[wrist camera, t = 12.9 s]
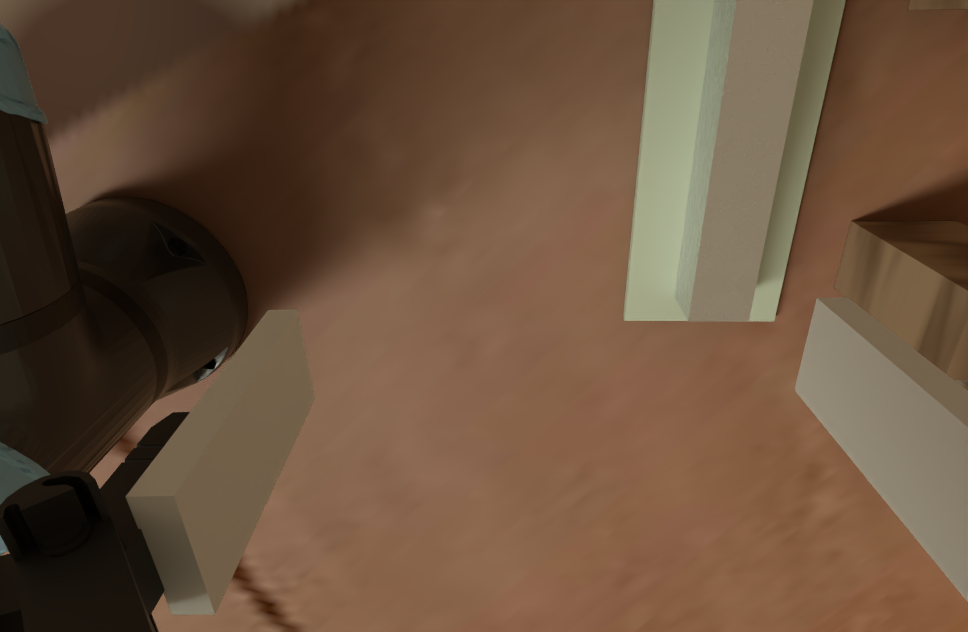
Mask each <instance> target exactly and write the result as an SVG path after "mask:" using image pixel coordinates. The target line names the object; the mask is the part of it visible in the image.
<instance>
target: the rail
mask: <svg viewBox="0 0 968 632" xmlns="http://www.w3.org/2000/svg"><path fill="white" fill-rule="evenodd" d="M813 1H814V0H714V7H713V15H712V22H711V30H710V37H709V44H708V52H707V59H706V66H705V74H704V81H703V88H702V96H701V103H700V110H699V118H698V125H697V132H696V140H695V147H694V155H693V162H692V169H691V177H690V184H689V191H688V199H687V206H686V213H685V221H684V228H683V235H682V243H681V250H680V257H679V265H678V272H677V280H676V287H675V294H674V297H675V299H676V301H677V302H678V304H679V306H680V308H681V309H682V311H683V313H684V315H685V316H686V318H687V320H688V321H746V322H749V318H750V313H751V308H752V303H753V298H754V294H755V289H756V284H757V279H758V274H759V269H760V264H761V259H762V254H763V249H764V244H765V239H766V234H767V229H768V224H769V219H770V214H771V209H772V204H773V199H774V194H775V189H776V184H777V179H778V175H779V170H780V165H781V160H782V155H783V150H784V145H785V140H786V135H787V130H788V125H789V120H790V115H791V110H792V105H793V100H794V95H795V90H796V85H797V80H798V75H799V70H800V65H801V60H802V55H803V51H804V46H805V41H806V36H807V31H808V26H809V21H810V16H811V11H812V6H813Z"/></svg>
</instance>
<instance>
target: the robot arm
mask: <svg viewBox="0 0 968 632" xmlns="http://www.w3.org/2000/svg"><path fill="white" fill-rule="evenodd" d="M44 123H47V118H46V116H45V114H44V112H42V111H41V110H40V109H39V108H38V105H37V102H36V99H35V96H34V93H33V89H32V86H31V83H30V79H29V76H28V73H27V70H26V66H25V63H24V60H23V57H22V53H21V50H20V48H19V45H18V44H17V42H16V40H15V39H14V37H13V36H12V35H11V33H10V32H9V31H8V30H7V29H6V28H5V27H4V26H3V25H2V24H1V23H0V555H2V554H3V553H5V552H7V551H9V552H10V554H7V555H3V556H0V632H159V631H158V629H157V626H156V623H155V621H154V619H153V616H152V614H151V613H152V611H153V610H154V608H155V606H156V604H157V603H158V601H159V599H160V597H161V596H162V594H163V593H164V595H165V598H166V600H167V603H168V605H169V608H170V610H171V613H172V615H196V614H215V613H216V611H217V609H218V607H219V605H220V602H221V600H222V598H223V596H224V594H225V592H226V590H227V587H228V585H229V583H230V581H231V579H232V577H233V574H234V572H235V570H236V568H237V566H238V564H239V561H240V559H241V557H242V555H243V553H244V551H245V548H246V546H247V544H248V542H249V540H250V538H251V536H252V533H253V531H254V529H255V527H256V525H257V523H258V520H259V518H260V516H261V514H262V512H263V510H264V507H265V505H266V503H267V501H268V499H269V497H270V494H271V492H272V490H273V488H274V486H275V484H276V481H277V479H278V477H279V475H280V473H281V471H282V469H283V466H284V464H285V462H286V460H287V458H288V456H289V453H290V451H291V449H292V447H293V445H294V443H295V440H296V438H297V436H298V434H299V432H300V430H301V427H302V425H303V423H304V421H305V419H306V417H307V415H308V412H309V410H310V408H311V406H312V404H313V402H314V399H315V398H314V393H313V387H312V382H311V377H310V371H309V366H308V361H307V356H306V350H305V345H304V340H303V334H302V329H301V324H300V318H299V313H298V309H293V310H268V311H267V312H266V313H265V315H264V316H263V317H262V319H261V320H260V321H259V323H258V324H257V325H256V327H255V328H254V329H253V330H252V332H251V333H250V334H249V336H248V337H247V338H246V340H245V341H244V342H243V344H242V345H241V346H240V348H239V349H238V350H237V351H236V353H235V354H234V355H233V357H232V358H231V359H230V361H229V362H228V363H227V365H226V366H225V367H224V368H223V370H222V371H221V372H220V374H219V375H218V376H217V378H216V379H215V380H214V382H213V383H212V384H211V385H210V387H209V388H208V389H207V391H206V392H205V393H204V395H203V396H202V397H201V399H200V400H199V401H198V402H197V404H196V405H195V406H194V408H193V409H192V410H191V412H173V413H172V414H170V415H169V416H167V417H166V418H164V419H163V420H161V421H160V422H159V423H157V424H156V425H154V426H153V427H151V428H150V429H149V431H148V432H147V433H146V434H145V435H144V437H143V438H142V439H141V440H140V442H139V443H138V444H137V448H134V449H133V450H132V451H131V452H130V454H129V455H128V456H127V457H126V458H125V463H121V464H120V466H119V467H118V468H117V469H116V470H115V472H114V473H113V474H112V475H111V476H110V478H109V479H108V480H107V481H106V482H105V484H104V485H103V486H102V487H101V488H100V489H99V487H98V485H97V482H96V480H95V479H94V478H93V477H92V476H91V475H90V474H89V473H90V472H91V471H92V469H93V468H94V467H95V466H96V465H97V464H98V463H99V462H100V461H101V460H102V459H103V457H104V456H105V455H106V454H107V453H108V452H109V451H110V450H111V449H112V448H113V446H114V445H115V444H116V443H117V442H118V441H119V440H120V439H121V438H122V437H123V436H124V434H125V433H126V432H127V431H128V430H129V429H130V428H131V427H132V426H133V425H134V423H135V422H136V421H137V420H138V419H139V418H140V417H141V416H142V415H143V414H144V412H145V411H146V410H147V409H148V408H149V407H150V406H151V405H152V404H153V403H154V402H155V401H156V400H159V399H161V398H163V397H165V396H168V395H170V394H172V393H174V392H177V391H179V390H181V389H184V388H186V387H188V386H190V385H193V384H195V383H197V382H199V381H201V380H203V379H205V378H206V377H208V376H209V375H211V374H212V373H213V372H215V371H216V370H217V369H218V368H219V367H220V366H221V365H222V364H223V363H224V362H225V360H226V359H227V358H228V357H229V356H230V355H231V354H232V352H233V351H234V350H235V349H236V347H237V346H238V344H239V342H240V341H241V338H242V336H243V334H244V331H245V327H246V322H247V298H246V293H245V289H244V285H243V282H242V279H241V277H240V274H239V272H238V270H237V268H236V266H235V264H234V263H233V261H232V259H231V258H230V256H229V255H228V253H227V252H226V251H225V249H224V248H223V247H222V246H221V245H220V243H219V242H218V241H217V240H216V239H215V238H214V237H213V236H212V235H211V234H210V233H209V232H208V231H207V230H205V229H204V228H203V227H202V226H201V225H199V224H198V223H197V222H195V221H194V220H192V219H191V218H189V217H188V216H186V215H184V214H182V213H181V212H179V211H177V210H175V209H173V208H170V207H168V206H166V205H163V204H160V203H157V202H154V201H150V200H146V199H140V198H133V197H113V198H106V199H101V200H98V201H95V202H92V203H90V204H87V205H85V206H82V207H80V208H78V209H76V210H73V211H71V212H69V213H67V214H65V210H64V206H63V202H62V197H61V193H60V189H59V185H58V181H57V177H56V172H55V168H54V164H53V160H52V156H51V151H50V147H49V143H48V139H47V135H46V131H45V126H44ZM795 391H796V393H797V394H798V395H799V396H800V398H801V399H802V400H803V401H804V402H805V404H806V405H807V406H808V407H809V409H810V410H811V411H812V412H813V413H814V415H815V416H816V417H817V418H818V420H819V421H820V422H821V423H822V424H823V426H824V427H825V428H826V429H827V431H828V432H829V433H830V434H831V435H832V437H833V438H834V439H835V440H836V442H837V443H838V444H839V445H840V446H841V448H842V449H843V450H844V451H845V453H846V454H847V455H848V456H849V458H850V459H851V460H852V461H853V462H854V464H855V465H856V466H857V467H858V469H859V470H860V471H861V472H862V473H863V475H864V476H865V477H866V478H867V480H868V481H869V482H870V483H871V484H872V486H873V487H874V488H875V489H876V491H877V492H878V493H879V494H880V495H881V497H882V498H883V499H884V500H885V502H886V503H887V504H888V505H889V506H890V508H891V509H892V510H893V511H894V513H895V514H896V515H897V516H898V517H899V519H900V520H901V521H902V522H903V524H904V525H905V526H906V527H907V528H908V530H909V531H910V532H911V533H912V535H913V536H914V537H915V538H916V539H917V541H918V542H919V543H920V544H921V546H922V547H923V548H924V549H925V550H926V552H927V553H928V554H929V555H930V557H931V558H932V559H933V560H934V561H935V563H936V564H937V565H938V566H939V568H940V569H941V570H942V571H943V572H944V574H945V575H946V576H947V577H948V579H949V580H950V581H951V582H952V583H953V585H954V586H955V587H956V588H957V590H958V591H959V592H960V593H961V594H962V596H963V597H964V598H965V599H966V601H967V602H968V391H967V390H966V389H965V388H963V387H962V386H961V385H959V384H958V383H957V382H956V381H954V380H953V379H952V378H951V377H949V376H948V375H947V374H945V373H944V372H943V371H942V370H940V369H939V368H938V367H936V366H935V365H934V364H933V363H931V362H930V361H929V360H927V359H926V358H925V357H924V356H922V355H921V354H920V353H918V352H917V351H916V350H915V349H913V348H912V347H911V346H909V345H908V344H907V343H906V342H904V341H903V340H902V339H901V338H899V337H898V336H897V335H895V334H894V333H893V332H892V331H890V330H889V329H888V328H886V327H885V326H884V325H883V324H881V323H880V322H879V321H877V320H876V319H875V318H874V317H872V316H871V315H870V314H868V313H867V312H866V311H865V310H863V309H862V308H861V307H860V306H858V305H857V304H856V303H854V302H853V301H852V300H851V299H849V298H848V297H843V298H817V300H816V304H815V308H814V312H813V316H812V320H811V324H810V328H809V333H808V337H807V341H806V345H805V349H804V353H803V357H802V361H801V365H800V369H799V373H798V377H797V382H796V386H795Z"/></svg>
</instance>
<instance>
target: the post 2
mask: <svg viewBox="0 0 968 632" xmlns="http://www.w3.org/2000/svg"><path fill="white" fill-rule="evenodd" d="M939 9H968V0H910V3H909V6H908V10H939Z"/></svg>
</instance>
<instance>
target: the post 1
mask: <svg viewBox="0 0 968 632" xmlns="http://www.w3.org/2000/svg"><path fill="white" fill-rule="evenodd" d="M834 288H835V289H836V290H838V291H839V292H840V293H841V294H842V295H844V296H845V297H848V298H849V299H851V300H852V301H853V302H854V303H856V304H857V305H858V306H860V307H861V308H862V309H863V310H865V311H866V312H867V313H868V314H870V315H871V316H872V317H874V318H875V319H876V320H877V321H879V322H880V323H881V324H883V325H884V326H885V327H886V328H888V329H889V330H890V331H892V332H893V333H894V334H895V335H897V336H898V337H899V338H901V339H902V340H903V341H904V342H906V343H907V344H908V345H909V346H911V347H912V348H913V349H915V350H916V351H917V352H918V353H920V354H921V355H922V356H924V357H925V358H926V359H927V360H929V361H930V362H931V363H933V364H934V365H935V366H936V367H938V368H939V369H940V370H942V371H943V372H944V373H945V374H947V375H948V376H949V377H951V378H952V379H953V380H968V226H967V225H965V224H962V223H960V222H958V221H851V225H850V229H849V232H848V236H847V240H846V244H845V247H844V251H843V255H842V259H841V263H840V266H839V270H838V274H837V278H836V281H835V285H834Z"/></svg>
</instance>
